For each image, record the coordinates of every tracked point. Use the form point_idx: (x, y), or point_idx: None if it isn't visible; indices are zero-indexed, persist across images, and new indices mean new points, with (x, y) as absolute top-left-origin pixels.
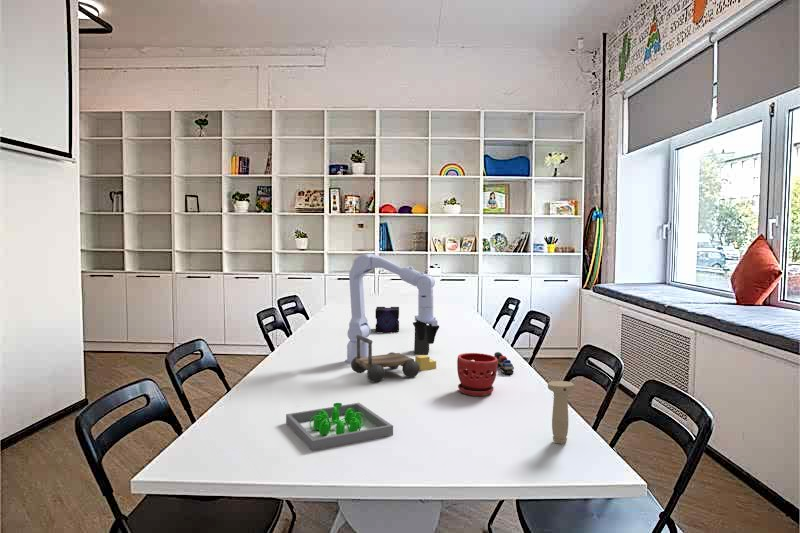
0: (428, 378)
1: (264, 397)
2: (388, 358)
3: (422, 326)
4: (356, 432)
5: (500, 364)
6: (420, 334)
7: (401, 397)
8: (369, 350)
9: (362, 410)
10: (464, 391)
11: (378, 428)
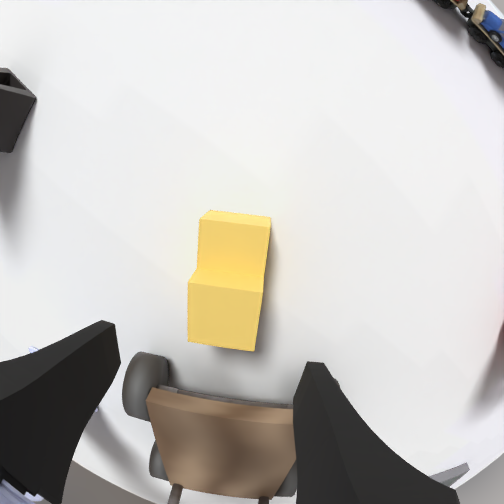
0: (377, 350)
1: None
2: (227, 463)
3: (33, 431)
4: None
5: (456, 4)
6: (89, 387)
7: (414, 446)
8: None
9: None
10: None
11: (459, 478)
